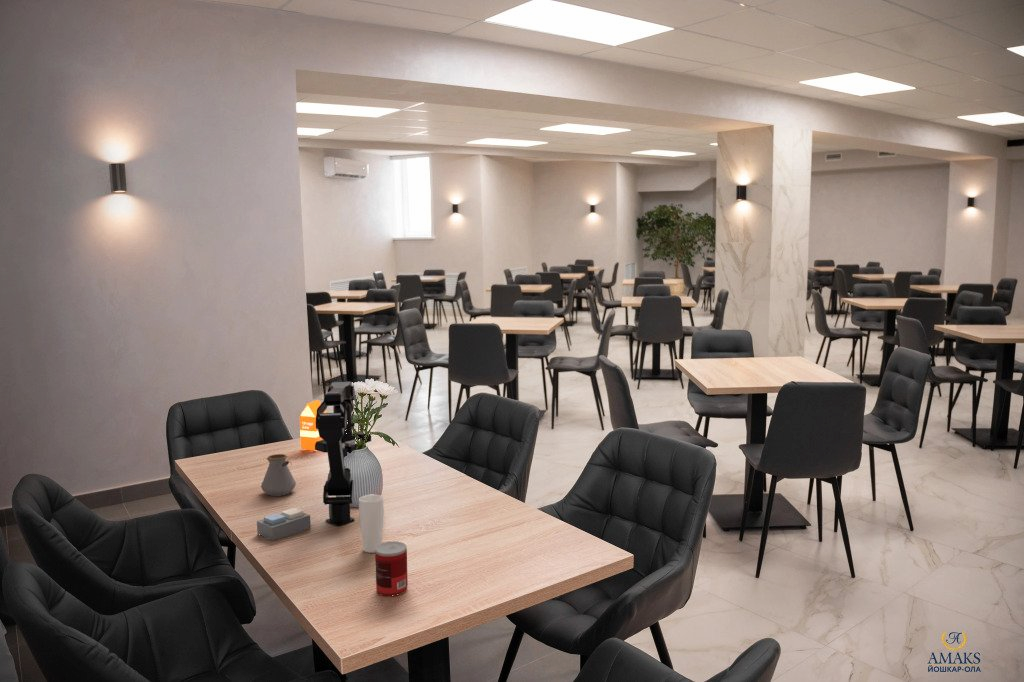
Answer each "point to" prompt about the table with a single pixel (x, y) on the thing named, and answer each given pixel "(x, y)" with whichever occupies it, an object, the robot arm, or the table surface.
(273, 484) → the coffee pot
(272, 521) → the blue key
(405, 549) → the canned food
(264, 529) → the key block
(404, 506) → the table surface
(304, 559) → the table surface
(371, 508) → the drinking glass
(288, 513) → the cream key
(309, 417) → the orange juice
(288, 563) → the table surface
